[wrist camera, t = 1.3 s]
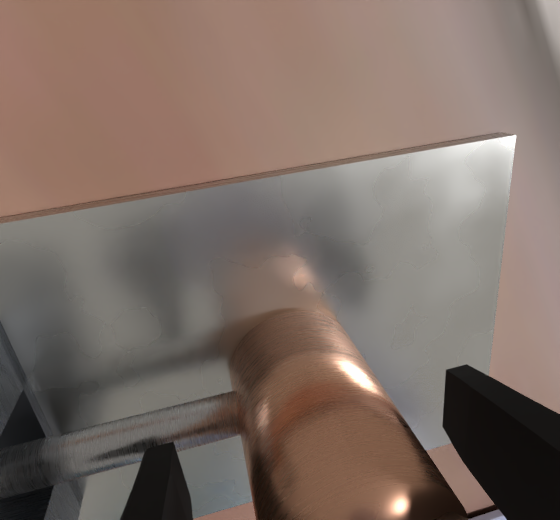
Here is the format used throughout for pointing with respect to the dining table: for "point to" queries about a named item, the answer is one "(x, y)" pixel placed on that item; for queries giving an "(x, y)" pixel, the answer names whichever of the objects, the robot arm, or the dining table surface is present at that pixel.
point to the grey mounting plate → (245, 299)
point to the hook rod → (274, 433)
